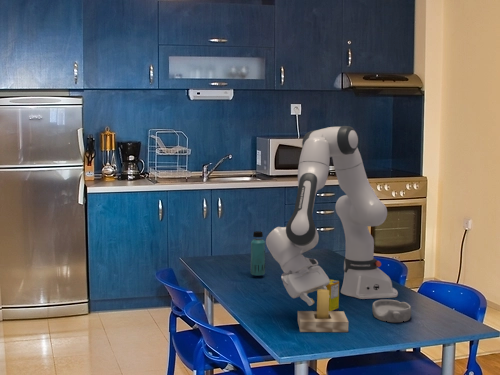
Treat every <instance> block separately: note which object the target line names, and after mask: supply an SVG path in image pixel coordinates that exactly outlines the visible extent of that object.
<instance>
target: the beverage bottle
mask: <svg viewBox="0 0 500 375" xmlns="http://www.w3.org/2000/svg"><path fill="white" fill-rule="evenodd" d="M263 234H264V233H263V231H259V230H258V231H253V236H252V237H253V239H252V240H251V242H250V275H252V276H263V275H265V273H266V240H264V239H262V238H263V237H264V235H263Z"/></svg>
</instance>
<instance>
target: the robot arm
mask: <svg viewBox="0 0 500 375" xmlns="http://www.w3.org/2000/svg"><path fill="white" fill-rule="evenodd" d="M301 146H302V148H301V152H300V156H299V161H298V167H297V192H296V199H295V205H294V210H293V213H292V214H291V216H290V218H289V220H288V221H287V223H286V226H283V227H282V226H277V227H275V228H273V229H271V231H270V232H269V233H268V234H267V236H266V239H265V246H266V248H267V249H268V251H269V252H270V254H271V256H272V257H273V259H274V260H275V261H276V262H277V263H278V264H279V266H280V268H281V270H282V272H283V273H282V274H281V277H280V278H281V281H282V284H283V287H284V288H285V289H286V292H287V294H288V295H289V296H290V297H291V298H292V299H296V298H300V299H301V300H303V301H304V302H305V303H306V304H307V305H308V306H309V307H310V306H313V305H314V304H315V300H314V299H313V298H311V297H309V296H308V294H309V293H314V292H317V290H319V289H326V290H327V287H326V286H327V285H328V284H329V283H330V280H329V279H330V278H329V276H328V274H326V272H325V271H324V269H323V267H321V266H320V265H319V262H318V260H317V259H315V258H309V257H305V256H304V255H303V254H305V253H307V252H309V251H311V250H313V249H314V248H315V247H316V246H317V245H318V243H319V241H320V240H319V239H320V236H319V232H318V229H317V228H316V225H315V222H314V218H313V217H314V216H313V212H314V207H315V200H316V194H317V193H318V191H320V190H321V189H323V188H324V187H325V186H326V183H327V181H328V177H329V170H330V160H331V159H332V164H333V168H334V171H335V175H336V178H337V182H338V186H339V188H340V189H341V191H342V192H344V195H342V196H340V197H338V199H337V200H336V203H335V212H336V213H335V214H337V216H338V217H339V219H340V221H341V224H342V229H343V232H344V238H345V256H344V258H343V271H344V274H343V282H342V286H341V289H340V293H341V294H342V295H344V296H348V297H352V298H356V299H359V300H361V299H362V300H365V299H367V300H368V299H370V300H371V299H387V298H388V299H390V298H397V297H398V295H399V292H398V290H397V289H396V288H394V287H393V282H392V280H391V278H390V276H389V275H387V274H386V273H385V272H384V271H383V270H381V269H380V267H381V266H382V262H381V261H380V260H378V259H376V258H374V254H375V252H374V251H375V250H374V249H375V246H374V245H375V240H374V237H373V235H372V234H371V233H370V230H369V227H378V226H382V224H383V223H385V221H386V219H387V216H388V209H387V206H386V205H385V204H384V203H383V201H381V200H380V199H379V197H378V196H377V195H376V192H375V191H374V189H373V187H372V186H371V183H370V182H369V179H368V176H367V173H366V170H365V167H364V163H363V162H364V161H363V159H362V155H361V153H360V151H359V148H358V146H359V134H358V132H357V131H356V129H355V128H353V127H352V126H349V125H342V126H330V127H329V126H328V127H325V128H321V129H314V130H310V131H309V132H307V133H305V135H304V136H303V139H302V142H301ZM330 158H331V159H330ZM329 298H330V295H329Z"/></svg>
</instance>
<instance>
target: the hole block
mask: <svg viewBox="0 0 500 375" xmlns="http://www.w3.org/2000/svg"><path fill="white" fill-rule="evenodd" d="M297 324H298V327H299V329H298V330H299V332H300V333H349V319H348V318H347V316H346V314H345V311H344V310H343V311H339V310H337V311H329V319H317V310H314V311H313V310H300V311H299V310H297Z"/></svg>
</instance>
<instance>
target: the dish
mask: <svg viewBox="0 0 500 375" xmlns="http://www.w3.org/2000/svg"><path fill="white" fill-rule="evenodd" d="M371 308H372V314H373V317H374V318H376V319H377V320H380V321H382V322H386V321H387V323H404V322H407V321H410V319H411V316H412V306H411V305H410V304H409V303H408V302H405V301H399V300H397V299H395V300H394V299H378V300H375V301H374V302H372V307H371ZM403 321H404V322H403Z"/></svg>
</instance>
